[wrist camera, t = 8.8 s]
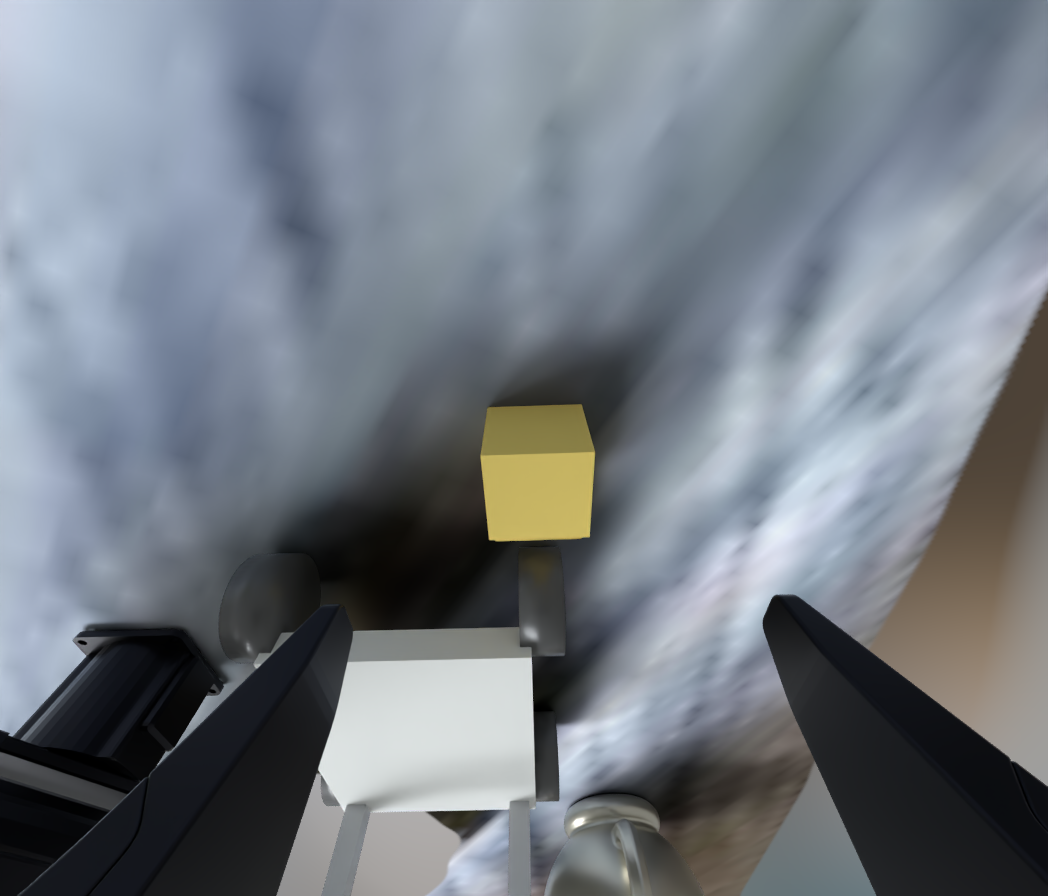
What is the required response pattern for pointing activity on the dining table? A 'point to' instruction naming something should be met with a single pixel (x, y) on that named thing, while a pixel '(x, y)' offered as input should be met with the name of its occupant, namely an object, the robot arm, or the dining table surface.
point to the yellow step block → (537, 472)
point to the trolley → (420, 705)
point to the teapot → (618, 852)
